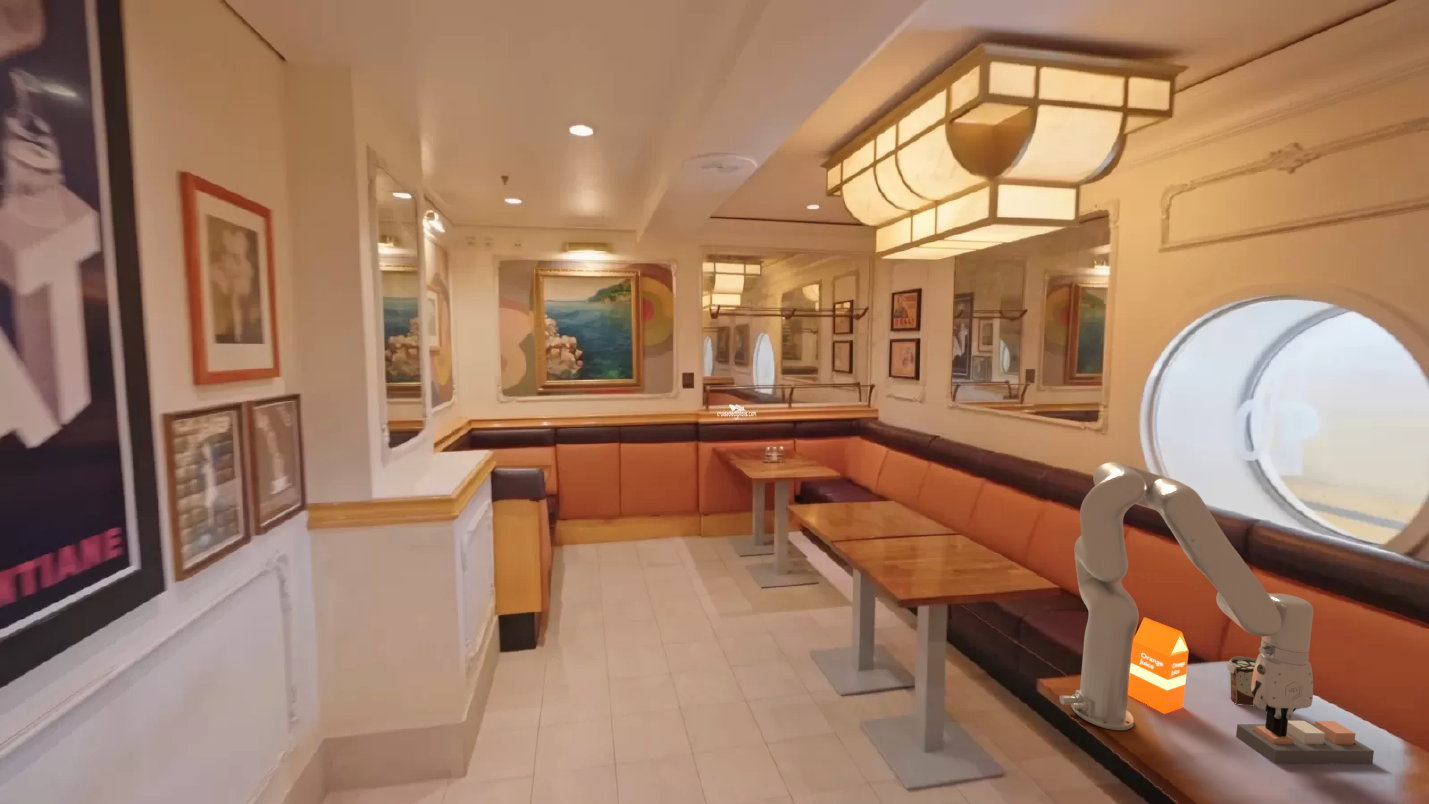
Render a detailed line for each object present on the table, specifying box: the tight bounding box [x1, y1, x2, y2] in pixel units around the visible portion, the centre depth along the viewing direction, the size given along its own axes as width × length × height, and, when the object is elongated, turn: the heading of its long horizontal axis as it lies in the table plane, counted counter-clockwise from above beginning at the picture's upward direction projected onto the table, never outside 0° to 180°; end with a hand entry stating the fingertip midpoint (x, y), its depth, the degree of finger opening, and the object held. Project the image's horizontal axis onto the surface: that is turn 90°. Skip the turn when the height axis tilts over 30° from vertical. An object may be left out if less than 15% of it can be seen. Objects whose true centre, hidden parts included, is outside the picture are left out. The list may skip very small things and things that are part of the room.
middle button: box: [1287, 720, 1325, 745], centre depth 132 cm, size 4×4×4 cm
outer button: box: [1314, 720, 1356, 745], centre depth 133 cm, size 4×4×4 cm
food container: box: [1226, 656, 1257, 707], centre depth 152 cm, size 12×6×10 cm, turn 84°
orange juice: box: [1128, 616, 1189, 715], centre depth 149 cm, size 8×9×20 cm
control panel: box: [1235, 723, 1375, 765], centre depth 133 cm, size 22×9×3 cm, turn 92°
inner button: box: [1254, 726, 1293, 744], centre depth 132 cm, size 4×4×4 cm
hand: (1275, 732), depth 132 cm, fingers closed
